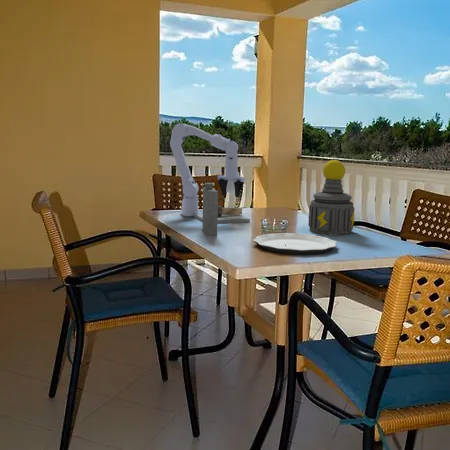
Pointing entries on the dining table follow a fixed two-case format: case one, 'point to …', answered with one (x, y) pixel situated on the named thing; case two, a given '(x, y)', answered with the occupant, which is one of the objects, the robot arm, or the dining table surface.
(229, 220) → the grey flat slab
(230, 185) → the wineglass
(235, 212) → the curved bar with hub
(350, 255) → the dining table surface
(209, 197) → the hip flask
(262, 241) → the plate
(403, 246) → the dining table surface
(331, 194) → the decorative lamp
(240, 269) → the dining table surface
